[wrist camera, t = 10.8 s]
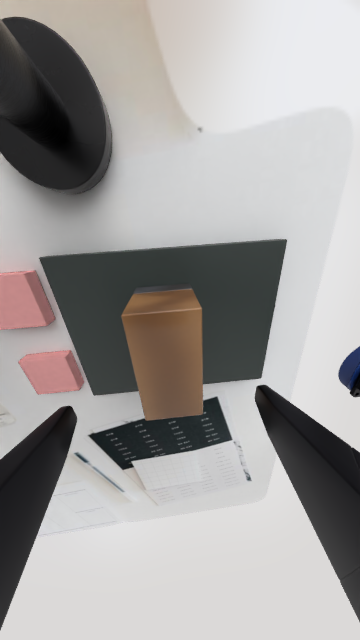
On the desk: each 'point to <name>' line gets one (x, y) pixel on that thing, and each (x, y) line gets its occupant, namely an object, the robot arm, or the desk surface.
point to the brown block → (166, 349)
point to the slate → (169, 269)
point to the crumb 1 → (23, 301)
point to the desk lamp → (50, 110)
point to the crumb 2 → (52, 372)
